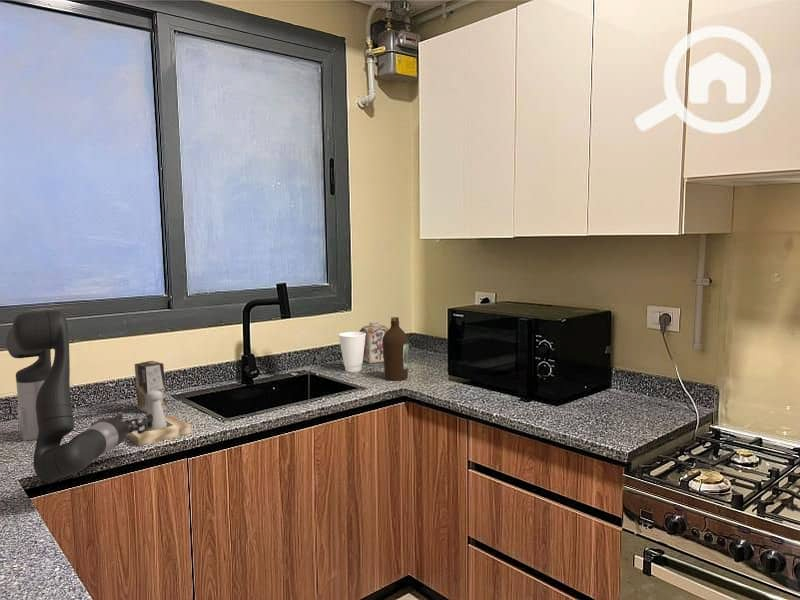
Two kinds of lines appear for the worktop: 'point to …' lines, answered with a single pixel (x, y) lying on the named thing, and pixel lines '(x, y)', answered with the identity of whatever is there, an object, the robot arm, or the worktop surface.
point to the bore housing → (161, 432)
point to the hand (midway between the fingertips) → (136, 417)
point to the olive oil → (395, 352)
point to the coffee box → (149, 382)
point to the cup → (352, 350)
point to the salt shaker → (156, 410)
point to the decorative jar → (373, 342)
